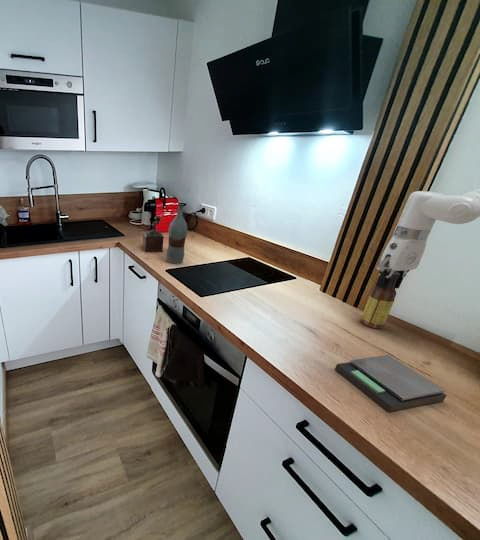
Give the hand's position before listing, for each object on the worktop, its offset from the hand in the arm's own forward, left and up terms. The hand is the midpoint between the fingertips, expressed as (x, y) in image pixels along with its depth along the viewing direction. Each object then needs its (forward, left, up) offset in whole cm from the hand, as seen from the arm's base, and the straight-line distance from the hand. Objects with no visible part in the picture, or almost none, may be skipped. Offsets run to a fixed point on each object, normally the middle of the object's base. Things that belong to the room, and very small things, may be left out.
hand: (387, 286), depth 94 cm
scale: (+24, +24, -15) cm, 37 cm away
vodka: (+46, -67, -15) cm, 83 cm away
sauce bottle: (0, 0, -15) cm, 15 cm away
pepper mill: (+51, -90, -15) cm, 104 cm away
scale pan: (+23, +24, -12) cm, 35 cm away
